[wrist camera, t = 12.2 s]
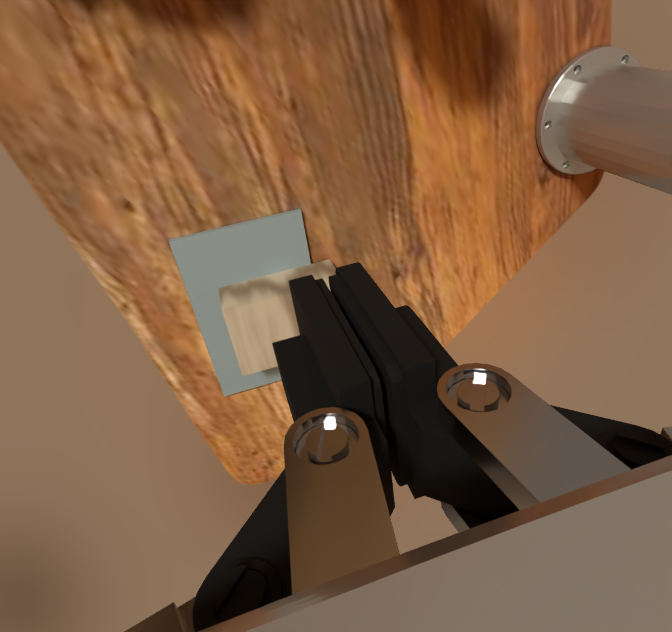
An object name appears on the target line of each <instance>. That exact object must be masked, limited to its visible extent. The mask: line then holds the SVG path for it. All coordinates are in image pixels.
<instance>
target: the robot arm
mask: <svg viewBox="0 0 672 632" xmlns="http://www.w3.org/2000/svg"><path fill="white" fill-rule="evenodd" d="M536 140H537V144H538V148H539V151H540V153H541V155H542V157H543V159H544V160H545V161H546V162H547V164H548V165H550V166H551V167H553V168H554V169H556V170H558V171H560V172H563V173H567V174H583V173H587V172H591V171H593V170H595V169H597V168H598V169H601V170H603V171H606V172H609V173H612V174H615V175H618V176H621V177H623V178H626V179H629V180H632V181H635V182H637V183H640V184H643V185H646V186H649V187H651V188H654V189H657V190H660V191H663V192H666V193H668V194H672V70H661V69H652V68H643V67H642V66H641V64H640V62H639V60H638V59H637V58H636V57H635V56H634V55H633V54H632V53H631V52H630V51H628V50H626V49H624V48H620V47H615V46H600V47H595V48H592V49H589V50H587V51H585V52H582V53H581V54H579V55H578V56H576V57H575V58H573V59H572V60H571V61H570V62H569V63H568V64H566V65H565V66H564V67H563V68H562V69H561V70H560V72H559V73H558V74H557V75H556V77H555V78H554V79H553V81H552V82H551V84H550V86H549V87H548V89H547V91H546V93H545V95H544V98H543V100H542V102H541V105H540V109H539V112H538V116H537V124H536ZM335 274H336V275H332V276H329V286H330V290H329V288H328V287H327V285H326V283H325V281H324V280H323V278H320V279H317V280H315V279H314V277H313V275H308V276H304V277H300V278H296V279H292V280H289V287H290V292H291V296H292V301H293V306H294V310H295V315H296V319H297V324H298V328H299V333H300V335H298V336H295V337H291V338H288V339H284V340H281V341H277V342H273V343H272V345H273V349H274V353H275V357H276V361H277V365H278V368H279V372H280V376H281V379H282V383H283V387H284V390H285V394H286V397H287V401H288V404H289V407H290V411H291V414H292V417H293V420H294V423H293V424H292V425H291V426H290V428H289V430H288V432H287V433H286V435H285V441H284V459H285V469H284V470H283V472H282V473H281V475H280V476H279V477H278V479H277V480H276V482H275V483H274V484H273V486H272V487H271V488H270V490H269V491H268V492H267V494H266V496H265V497H264V498H263V499H262V501H261V502H260V503H259V505H258V507H257V508H256V509H255V510H254V512H253V513H252V515H251V516H250V518H249V519H248V520H247V521H246V523H245V524H244V526H243V527H242V528H241V530H240V531H239V532H238V534H237V535H236V537H235V538H234V539H233V541H232V542H231V543H230V545H229V546H228V548H227V549H226V550H225V552H224V553H223V555H222V556H221V557H220V559H219V560H218V562H217V563H216V564H215V566H214V567H213V568H212V570H211V571H210V573H209V574H208V575H207V577H206V578H205V580H204V581H203V583H202V585H201V587H200V589H199V591H198V592H197V595H196V597H194V598H193V599H191V600H189V601H188V602H186V603H184V604H183V605H181V606H179V607H178V608H177V606H176V605H175V603H174V602H173V603H171V604H170V605H168V606H166V607H165V608H163V609H161V610H160V611H158V612H156V613H155V614H153V615H151V616H150V617H148V618H146V619H145V620H143V621H141V622H140V623H138V624H136V625H135V626H133V627H131V628H130V629H128V630H126V631H125V632H672V427H665V428H662V431H661V434H658V433H656V432H654V431H652V430H649V429H646V428H643V427H640V426H636V425H632V424H628V423H623V422H619V421H615V420H611V419H606V418H603V417H598V416H594V415H590V414H585V413H581V412H577V411H573V410H568V409H564V408H560V407H556V406H552V405H549V404H547V403H546V402H545V401H544V400H543V399H541V398H540V397H539V396H537V395H536V394H535V393H534V392H532V391H531V390H530V389H529V388H527V387H526V386H525V385H523V384H522V383H521V382H520V381H518V380H517V379H516V378H515V377H513V376H512V375H511V374H509V373H508V372H506V371H504V370H503V369H501V368H498V367H495V366H492V365H489V364H480V363H472V364H463V365H460V366H458V365H457V363H456V362H455V361H454V360H453V359H452V358H451V356H450V355H449V354H448V353H447V351H446V350H445V349H444V348H443V346H442V345H441V344H440V343H439V342H438V340H437V339H436V338H435V337H434V336H433V334H432V333H431V332H430V331H429V330H428V328H427V327H426V326H425V325H424V323H423V322H422V321H421V320H420V319H419V317H418V316H417V315H416V314H415V313H414V311H413V310H412V309H411V308H410V307H409V306H406V305H405V306H402V307H398V308H394V306H393V305H392V304H391V303H390V301H389V300H388V299H387V297H386V296H385V295H384V293H383V292H382V291H381V290H380V288H379V287H378V286H377V284H376V283H375V282H374V280H373V279H372V278H371V277H370V275H369V274H368V273H367V271H366V270H365V269H364V267H363V266H362V265H361V264H360V263H359V262H357V263H353V264H350V265H346V266H342V267H338V268H336V270H335ZM391 471H392V473H393V475H394V477H395V480H396V482H397V483H398V484H399V486H403V485H406V484H408V486H409V488H410V490H411V492H412V494H413V496H414V498H415V499H416V498H419V497H422V496H427V497H430V498H433V499H435V500H438V501H441V506H442V509H443V511H444V513H445V515H446V516H447V518H448V519H449V520H450V522H451V523H452V524H453V526H454V527H455V528H456V529H457V531H458V532H459V533H457V534H454V535H452V536H449V537H446V538H444V539H441V540H438V541H436V542H433V543H430V544H427V545H425V546H422V547H419V548H417V549H414V550H411V551H409V552H406V553H403V554H401V555H400V554H399V550H398V546H397V542H396V538H395V534H394V530H393V526H392V522H391V518H390V516H391V514H392V512H393V510H394V508H395V503H394V494H393V483H392V475H391Z"/></svg>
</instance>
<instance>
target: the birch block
mask: <svg viewBox="0 0 672 632" xmlns="http://www.w3.org/2000/svg"><path fill="white" fill-rule="evenodd" d="M335 270H336V268H335V266H334V265H333V263H332V262H331V261H330V259H328V260H325V261H321V262H317V263H313V264H309V265H305V266H301V267H297V268H294V269H290V270H286V271H282V272H278V273H274V274H270V275H266V276H263V277H259V278H255V279H251V280H247V281H243V282H239V283H235V284H232V285H228V286H224V287H220V288H218V291H219V296H220V302H221V308H222V313H223V316H224V319H225V322H226V325H227V329H228V332H229V335H230V338H231V341H232V344H233V347H234V350H235V354H236V357H237V360H238V363H239V366H240V369H241V372H242V375H243V376H246V375H249V374H252V373H256V372H259V371H263V370H266V369H270V368H273V367H277V366H278V365H277V361H276V357H275V353H274V349H273V345H272V343H273V342H277V341H281V340H284V339H288V338H291V337H295V336H298V335H300V333H299V328H298V324H297V319H296V315H295V310H294V306H293V301H292V296H291V292H290V287H289V280H292V279H296V278H300V277H304V276H308V275H313V277H314V279H315V280H317V279H320V278H323V280H324V281H325V283H326V285H327V287H328V288H329V290H330V286H329V276H332V275H336V274H335Z"/></svg>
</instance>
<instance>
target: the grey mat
mask: <svg viewBox="0 0 672 632" xmlns="http://www.w3.org/2000/svg"><path fill="white" fill-rule="evenodd" d="M169 243H170V246H171V249H172V252H173V254H174V257H175V260H176V263H177V266H178V268H179V271H180V274H181V277H182V280H183V282H184V285H185V288H186V291H187V294H188V296H189V299H190V302H191V305H192V307H193V310H194V313H195V316H196V319H197V321H198V324H199V327H200V330H201V333H202V335H203V338H204V341H205V344H206V347H207V349H208V352H209V355H210V358H211V361H212V363H213V366H214V369H215V372H216V375H217V377H218V380H219V383H220V386H221V389H222V391H223V394H224V397H225V396H228V395H232V394H235V393H239V392H242V391H245V390H249V389H252V388H256V387H259V386H262V385H266V384H269V383H273V382H276V381H279V380H282V379H281V376H280V372H279V368H278V366H277V367H273V368H270V369H266V370H263V371H259V372H256V373H252V374H249V375H246V376H243V375H242V372H241V369H240V366H239V363H238V360H237V357H236V354H235V350H234V347H233V344H232V341H231V338H230V335H229V332H228V329H227V325H226V322H225V319H224V316H223V313H222V308H221V302H220V296H219V291H218V288H220V287H224V286H228V285H232V284H235V283H239V282H243V281H247V280H251V279H255V278H259V277H263V276H266V275H270V274H274V273H278V272H282V271H286V270H290V269H294V268H297V267H301V266H305V265H309V264H311V261H310V256H309V250H308V245H307V240H306V234H305V229H304V224H303V218H302V213H301V210H300V209H296V210H292V211H287V212H283V213H279V214H275V215H271V216H266V217H262V218H258V219H254V220H250V221H245V222H241V223H237V224H233V225H229V226H224V227H220V228H216V229H212V230H208V231H203V232H199V233H195V234H191V235H187V236H182V237H178V238H174V239H170V240H169Z"/></svg>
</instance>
